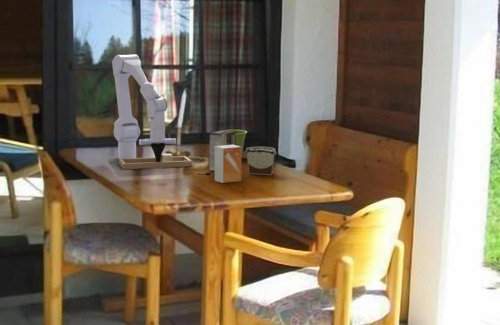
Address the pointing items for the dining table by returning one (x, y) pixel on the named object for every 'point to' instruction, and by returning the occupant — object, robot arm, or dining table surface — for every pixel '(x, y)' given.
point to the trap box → (154, 162)
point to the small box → (228, 163)
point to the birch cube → (166, 157)
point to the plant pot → (239, 138)
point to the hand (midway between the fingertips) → (158, 162)
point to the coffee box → (219, 143)
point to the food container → (260, 160)
